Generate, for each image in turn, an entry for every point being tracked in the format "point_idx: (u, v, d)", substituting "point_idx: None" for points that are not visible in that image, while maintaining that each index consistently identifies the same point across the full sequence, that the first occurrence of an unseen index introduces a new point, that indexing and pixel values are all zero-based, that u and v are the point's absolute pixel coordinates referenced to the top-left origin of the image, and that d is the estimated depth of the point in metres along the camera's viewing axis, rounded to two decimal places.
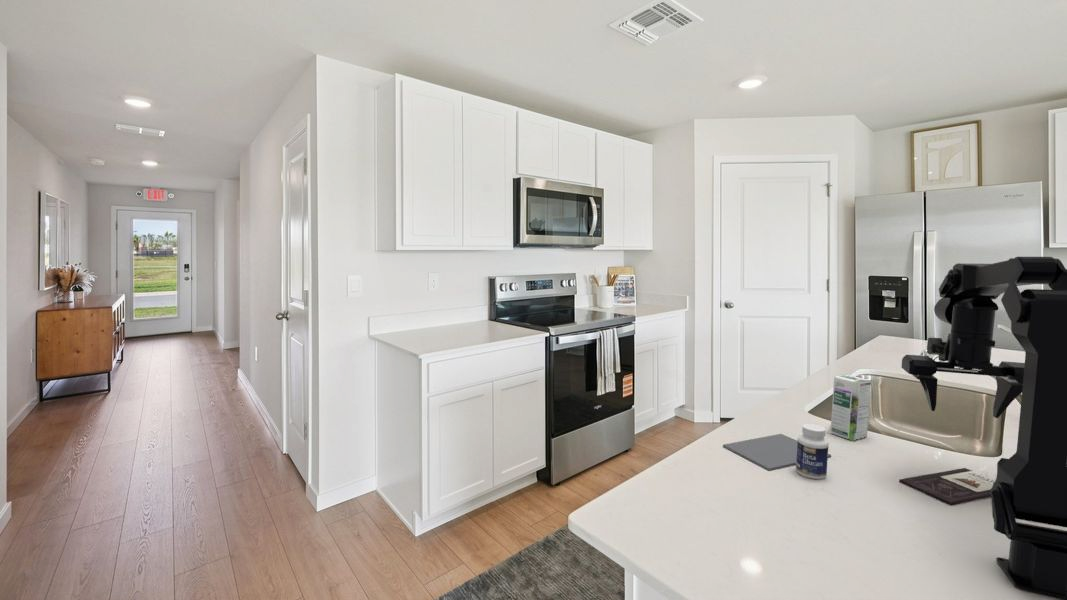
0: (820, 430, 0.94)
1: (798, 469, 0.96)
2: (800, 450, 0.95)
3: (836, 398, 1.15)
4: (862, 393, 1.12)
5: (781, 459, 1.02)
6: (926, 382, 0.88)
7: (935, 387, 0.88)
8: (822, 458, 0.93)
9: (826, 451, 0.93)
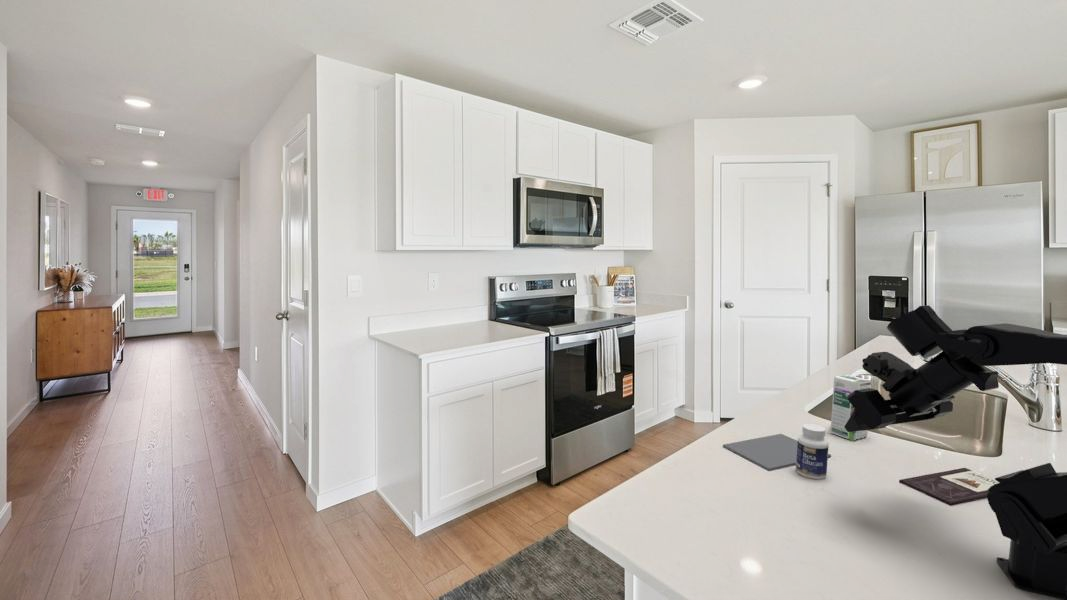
0: (820, 430, 0.94)
1: (798, 469, 0.96)
2: (800, 450, 0.95)
3: (836, 398, 1.15)
4: None
5: (781, 459, 1.02)
6: None
7: None
8: (822, 458, 0.93)
9: (826, 451, 0.93)
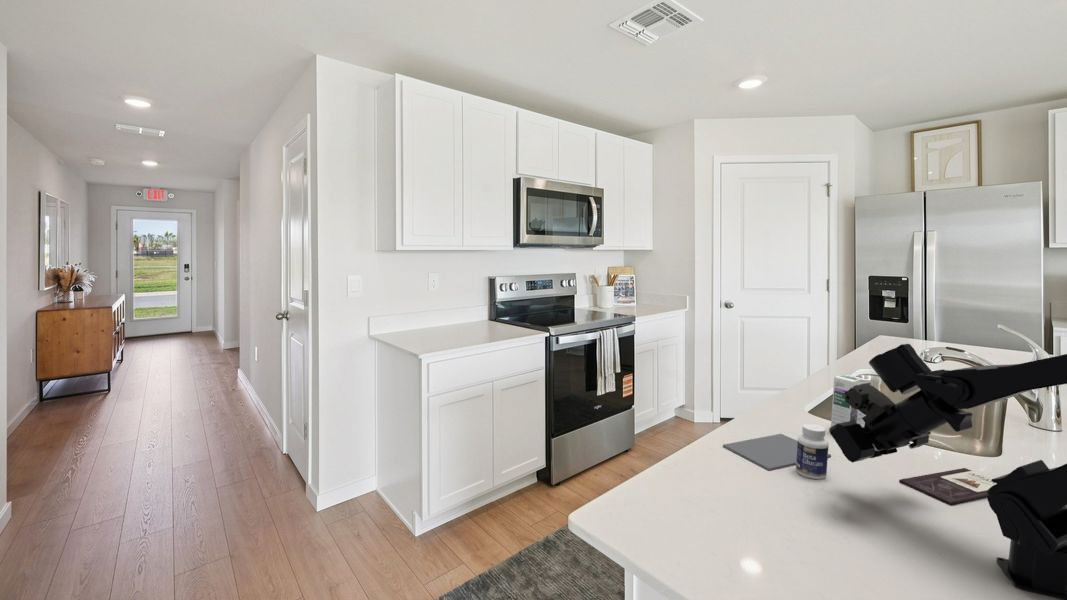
0: (820, 430, 0.94)
1: (798, 469, 0.96)
2: (800, 450, 0.95)
3: (836, 398, 1.15)
4: None
5: (781, 459, 1.02)
6: None
7: None
8: (822, 458, 0.93)
9: (826, 451, 0.93)
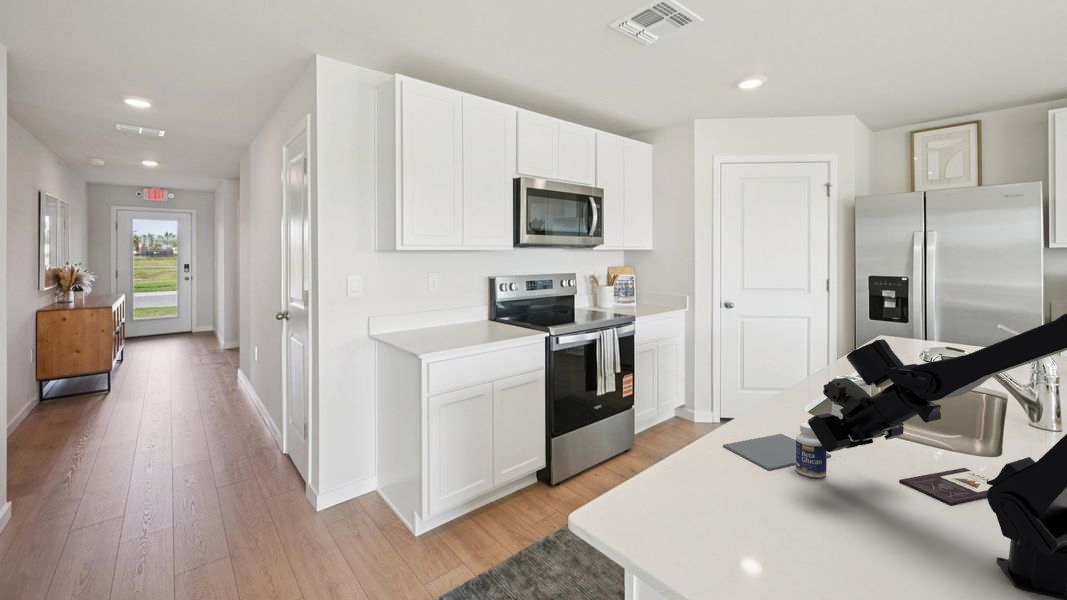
0: None
1: (798, 468, 0.96)
2: (798, 449, 0.96)
3: None
4: None
5: (781, 459, 1.02)
6: None
7: None
8: (821, 456, 0.93)
9: (824, 449, 0.94)
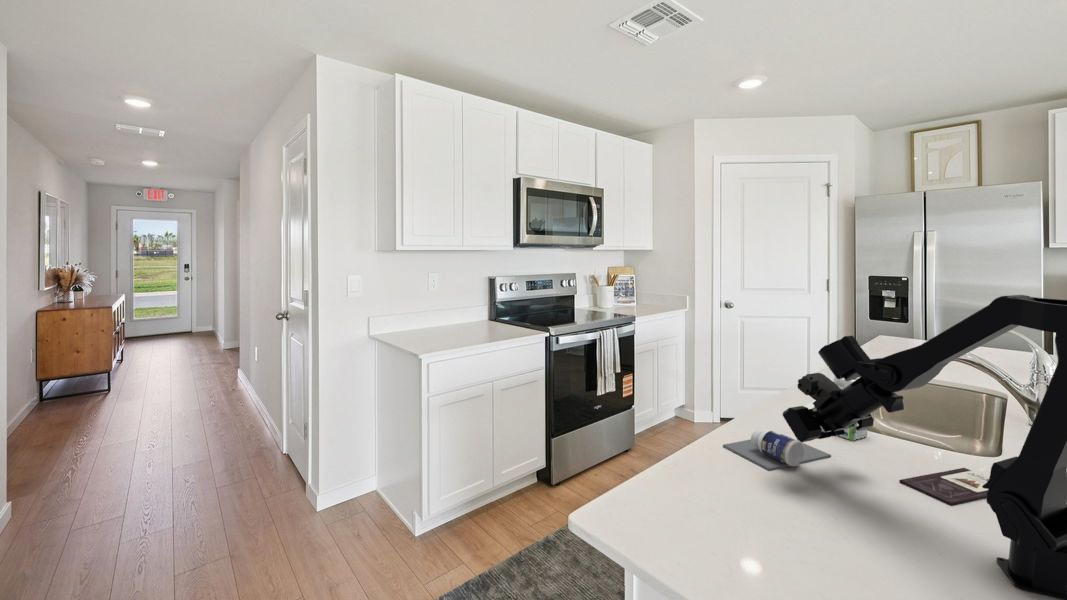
0: None
1: (785, 462, 0.98)
2: (768, 454, 1.02)
3: None
4: None
5: None
6: None
7: None
8: (772, 438, 1.01)
9: (771, 433, 1.02)
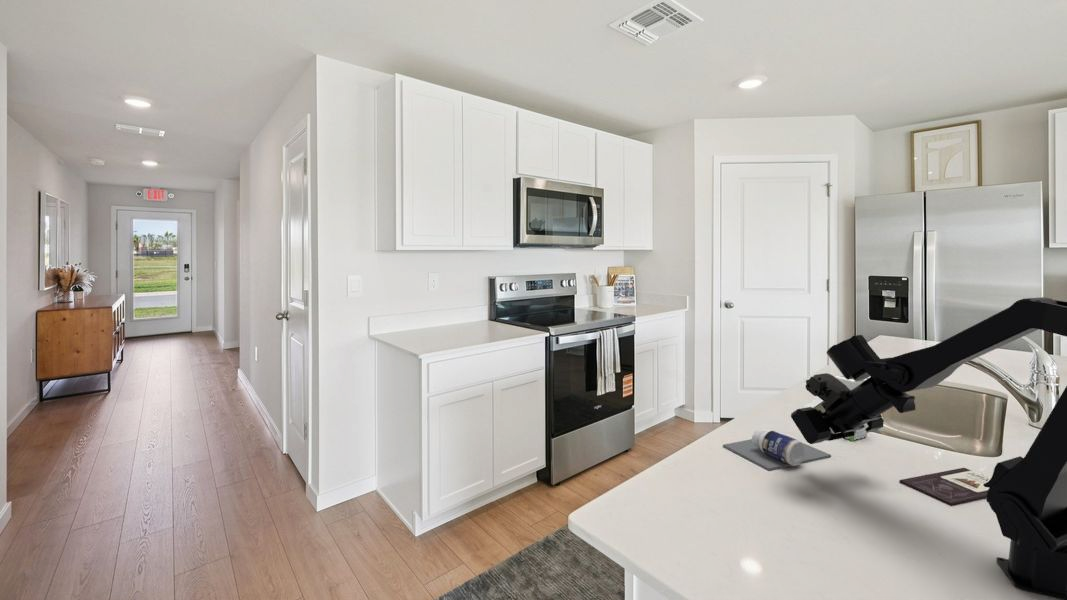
0: None
1: (786, 461, 0.98)
2: (769, 453, 1.02)
3: None
4: None
5: None
6: None
7: None
8: (775, 436, 1.01)
9: (773, 432, 1.03)
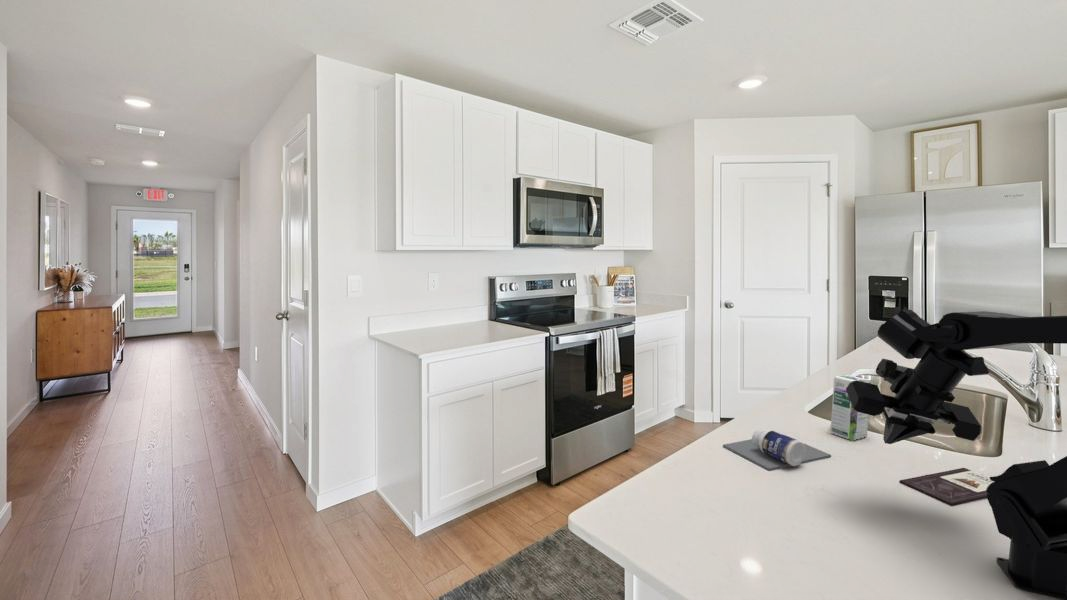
0: None
1: (786, 461, 0.98)
2: (768, 453, 1.02)
3: (836, 398, 1.15)
4: None
5: None
6: (894, 426, 0.81)
7: (901, 430, 0.81)
8: (774, 436, 1.01)
9: (773, 432, 1.03)
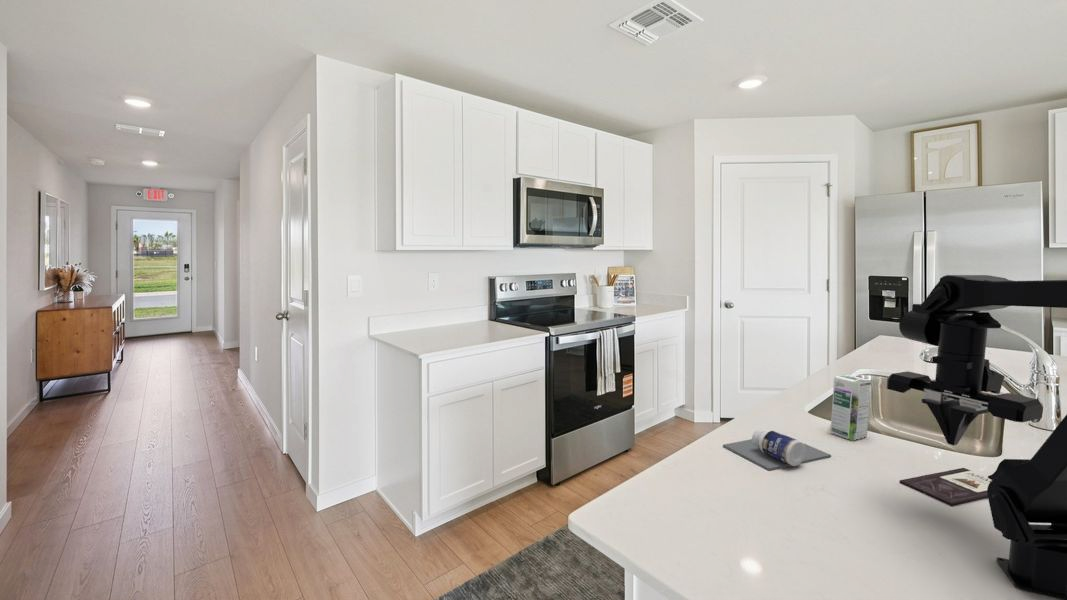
0: None
1: (786, 461, 0.98)
2: (768, 453, 1.02)
3: (836, 398, 1.15)
4: (862, 393, 1.12)
5: None
6: (929, 406, 0.79)
7: (940, 414, 0.78)
8: (774, 436, 1.01)
9: (773, 432, 1.03)
